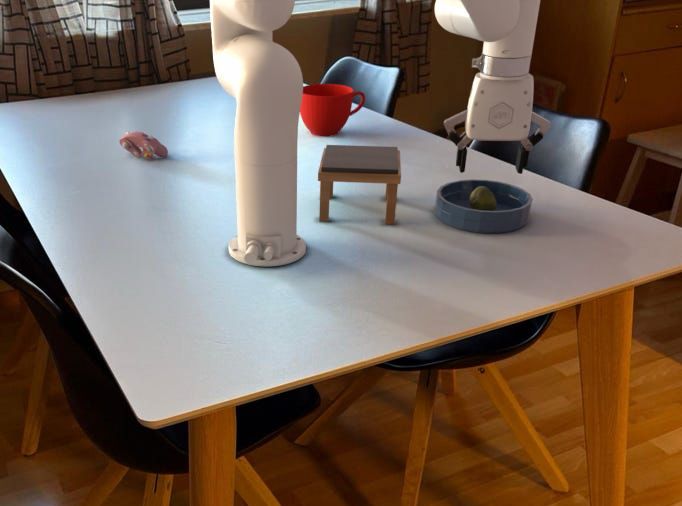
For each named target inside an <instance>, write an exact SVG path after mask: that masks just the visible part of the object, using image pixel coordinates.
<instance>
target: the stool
mask: <svg viewBox="0 0 682 506" xmlns="http://www.w3.org/2000/svg"><path fill="white" fill-rule="evenodd" d="M398 149H399V147H398V146H383V145H382V146H381V145H380V146H379V145H378V146H377V145H350V144H347V145H345V144H326V147H324V148H323V150H322V156H321V159H320V163H319V166H318V172H317V182H319V213H318V215H319V216H318V217H319V218H318V221H319V222H325V223H328V222H329V220H330V199H333V197H334V183H358V184H359V183H362V184H385V196H384V201H385V202H386V204H385V217H384V225H395V221H396V220H395V219H396V209H397V199H398V198H397V197H398V187H399V185H401V182H402V167H401V150H400V149H399V150H398Z"/></svg>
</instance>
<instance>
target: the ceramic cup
mask: <svg viewBox="0 0 682 506" xmlns="http://www.w3.org/2000/svg"><path fill="white" fill-rule="evenodd" d="M357 95H360V97H361V99H360V102H359V104H358V105H357V107H355V108H354V109H352V108H353V107H352V106H353V99H354V98H355V97H356V96H357ZM365 102H366V95H365V93H364V92H363V91H361V90H356V91H354V89H353V88H352V87H350V86H348V85H343V84H338V83H337V84H336V83H315V84H307V85H303V95H302V102H301V108H300V114H299V116H300V118H301V121H302V122H303V124H304V126H305V127H306V129H307V131H309V132H310V134H311V135H312V136H314V137H315V136H316V137H322V138H323V137H327V138H328V137H334V136H337V135H339V133H340V131H341V130H342V129H343V128H344V127H345V125H346V124H347V122H348V120H349V118H350V116H353V115H354V114H356V113H357V112H359V111H361V109H362V108H363V107H364V104H365Z"/></svg>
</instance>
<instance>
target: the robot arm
mask: <svg viewBox="0 0 682 506" xmlns="http://www.w3.org/2000/svg"><path fill="white" fill-rule="evenodd" d="M295 3H296V0H209V10H210V11H209V12H210V27H211V28H210V29H211V41H212V42H211V43H212V58H213V66H214V72H215V76H216V78H217V81H218V82H219V85H220V86H221V88H222V89H223V90H224V91H225V92H226V93H227V94H228V95H230V96H231V97H233V99H235V100H236V111H235V112H236V113H235V120H234V128H233V129H234V130H233V131H234V132H233V153H234V154H233V155H234V156H233V157H234V173H235V198H236V199H235V201H236V225H237V226H236V227H237V235H236V236H234V237H233V238H232V239H231V240H230V241H229V243H228V253H229V255H230V257H231V258H233V259H234V260H236V261H238V262H239V263H241V264H244V265H249V266H253V267H265V268H267V267H268V268H269V267H278V266H284V265H289V264H291V263H294V262H297V261H299V260H300V259H301V258H303V257H304V256H305V254H306V253H307V252H306V251H307V243H306V240H305V239H304V238H302V237H301V236H300V235H299V234H298V233H297V232H298V231H297V230H298V229H297V226H298V225H297V223H298V220H297V219H298V136H299V135H298V134H299V121H300V108H301V102H302V95H303V86H304V77H303V72H302V69H301V66H300V64H299V62H298V61H297V59H296V57H295V56H294V55H293V53H292V52H290V50H288V49H287V48H285V47H284V46H283V45H281V44H279V43H277V42H275V41H274V40H273V36H274V35H273V31H276V30H279V29H280V28H282V27H283V26H285V25H286V23H287V22H288V21H289V19H290V18H291V16H292V14H293V12H294V8H295ZM540 4H541V0H435V3H434V16H435V19H436V20H437V23H438V24H439V26H441V27H442V28H443V29H444V30H445V31H447V32H449V33H451V34H454V35H458V36H462V37H466V38H471V39H474V40H477V41H479V42H480V41H481V42H483V46H482V52H481V55H480V56H479V57H475V58H474V57H473V58H472V59H471V68H476V69H478V70H479V72H477V73H476V74H475V75H474V79H473V82H472V85H471V89H470V92H469V93H470V94H469V98H468V103H467V109H465V110H463V111H461V112H459V113H457V114H454V115H452V116H450V117H449V118H445V119H444V121H443V126H444V128H445V131H446V134H447V135H448V138H449V139H450V141H451V142H452V143H453V144H454V145H455V147H457V149H456V150H457V151H456V158H455V166H456V167H458V169H459V173H460V174H463V173H465V172H466V165H467V164H466V163H467V158H468V157H467V156H468V149H467V148H468V147H467V146H468V145H469V144H470V143H471V142H472V141H484V142H485V141H487V142H520V145H519V146H518V150H517V157H516V162H515V170H516V172H517V174H519V175H522V174H523V172H524V168H527V166H528V161H529V156H530V151H532V149H533V147H535V146H536V145H537V144H538V143H540V142H541V141H542V140H543V139H544V137H545V135H546V134H547V132H548V131H550V128H551V127H552V123H551V121H550V120H549V119H548V118H546V117H543V116H541V115H539V114H538V113H536V112H534V111H533V104H534V89H535V87H534V85H535V84H534V83H535V82H534V76H533V75H532V74H531V73H530V66H531V59H532V54H533V48H534V42H535V36H536V30H537V29H536V28H537V23H538V17H539V12H540ZM462 122H464V130H465V131H463V133H462V134H460V135H459V133H457V131H456V130H455V126H456V125H458V124H460V123H462ZM531 123H533V124H535V125H537V126H538V128H537V130H536V131H534V133H532V134H531V135H530V129H531Z"/></svg>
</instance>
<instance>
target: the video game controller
mask: <svg viewBox="0 0 682 506" xmlns="http://www.w3.org/2000/svg"><path fill="white" fill-rule="evenodd" d="M119 145H120V146H121V148H123V149H124V150H125V151H127V152H129V153H130V154H131V155H132V156H134V157H135V158H139V157H140V156H141V155H143V157H144V159H147V160H152V158H153V157H154V156H157V157H159V158H162V159H164V158H167V157H168V154H169V151H168V149H167V147H166V146H165V145H164V144H162V143H161V142H160V141H159V140H158V138H156V137H154V136H153V135H148V134H147V133H145V132H142V131H133V132H130V131H126V133H125V134H123V135H122V136H121V137H120V139H119Z"/></svg>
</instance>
